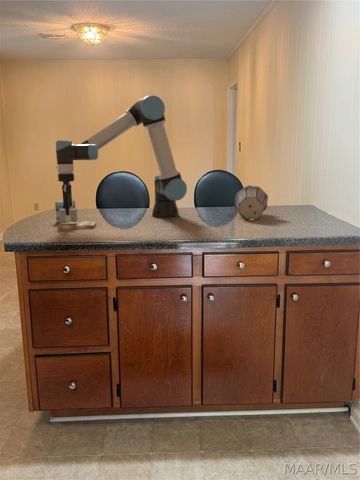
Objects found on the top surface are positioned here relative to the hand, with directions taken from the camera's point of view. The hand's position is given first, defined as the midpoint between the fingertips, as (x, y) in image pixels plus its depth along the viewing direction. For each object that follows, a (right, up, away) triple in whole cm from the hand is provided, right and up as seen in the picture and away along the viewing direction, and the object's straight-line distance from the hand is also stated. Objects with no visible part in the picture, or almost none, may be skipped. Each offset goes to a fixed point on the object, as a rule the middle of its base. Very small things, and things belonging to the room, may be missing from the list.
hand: (69, 220), depth 204 cm
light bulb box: (-6, 0, +18) cm, 19 cm away
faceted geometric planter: (+94, +3, +27) cm, 98 cm away
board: (+4, -3, +1) cm, 5 cm away
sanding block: (0, 0, 0) cm, 1 cm away
